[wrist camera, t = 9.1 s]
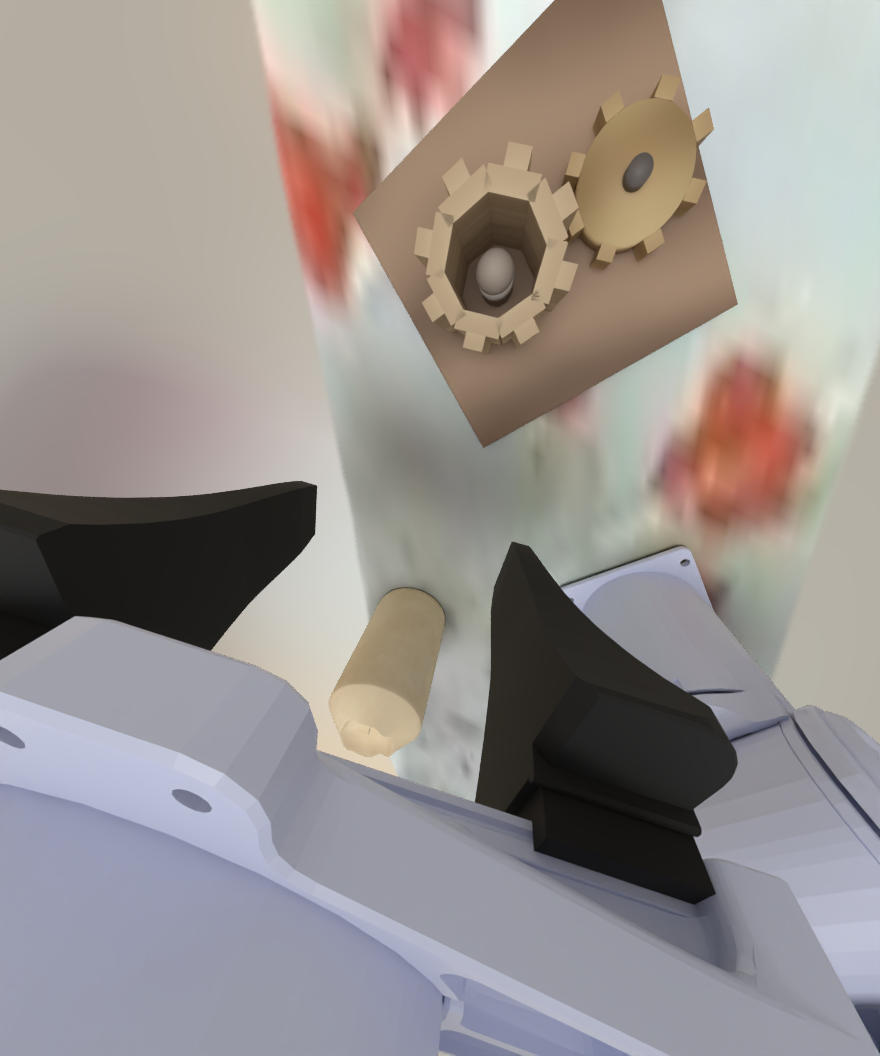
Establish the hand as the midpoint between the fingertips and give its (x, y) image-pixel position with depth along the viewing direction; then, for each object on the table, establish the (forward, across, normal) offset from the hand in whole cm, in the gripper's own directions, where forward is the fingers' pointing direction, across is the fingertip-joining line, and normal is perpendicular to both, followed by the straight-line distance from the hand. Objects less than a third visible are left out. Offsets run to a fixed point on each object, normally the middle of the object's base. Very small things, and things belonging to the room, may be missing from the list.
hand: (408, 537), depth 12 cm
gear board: (+9, -2, -10) cm, 14 cm away
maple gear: (+8, 0, -9) cm, 12 cm away
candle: (+10, 0, +13) cm, 16 cm away
